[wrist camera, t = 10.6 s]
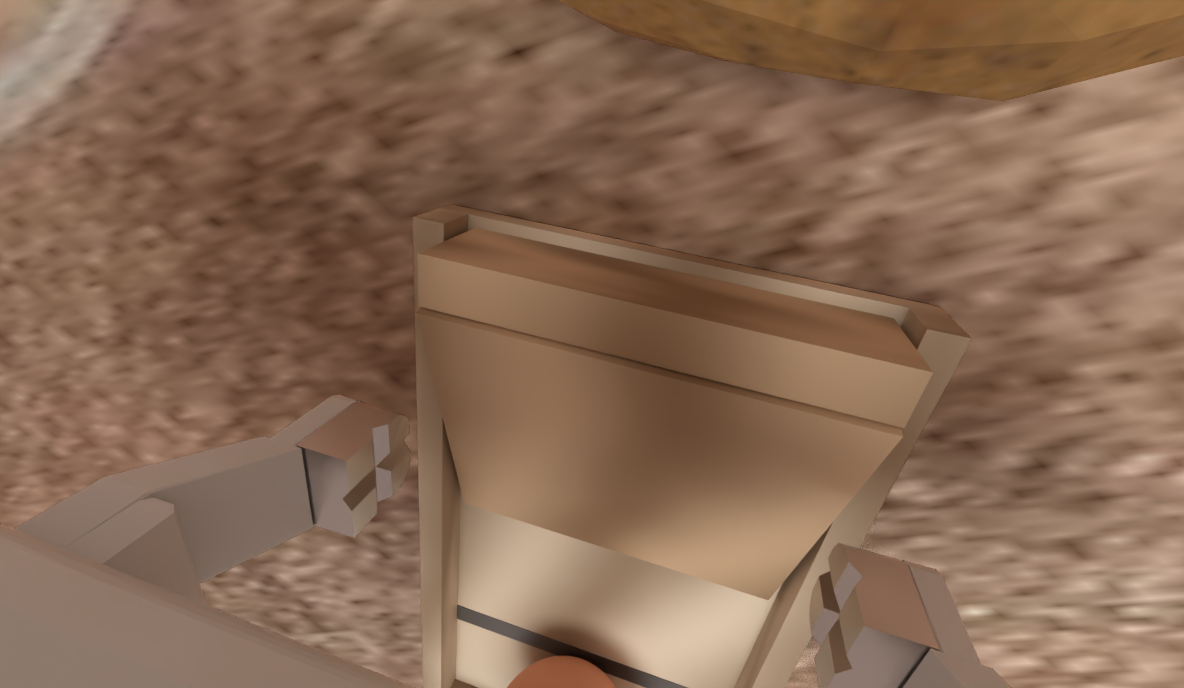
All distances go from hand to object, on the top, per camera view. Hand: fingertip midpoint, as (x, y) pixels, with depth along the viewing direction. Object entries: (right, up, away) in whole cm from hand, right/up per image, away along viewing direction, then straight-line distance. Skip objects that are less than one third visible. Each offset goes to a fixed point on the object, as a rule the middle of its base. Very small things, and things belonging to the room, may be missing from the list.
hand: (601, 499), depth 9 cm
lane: (0, -4, +8) cm, 9 cm away
